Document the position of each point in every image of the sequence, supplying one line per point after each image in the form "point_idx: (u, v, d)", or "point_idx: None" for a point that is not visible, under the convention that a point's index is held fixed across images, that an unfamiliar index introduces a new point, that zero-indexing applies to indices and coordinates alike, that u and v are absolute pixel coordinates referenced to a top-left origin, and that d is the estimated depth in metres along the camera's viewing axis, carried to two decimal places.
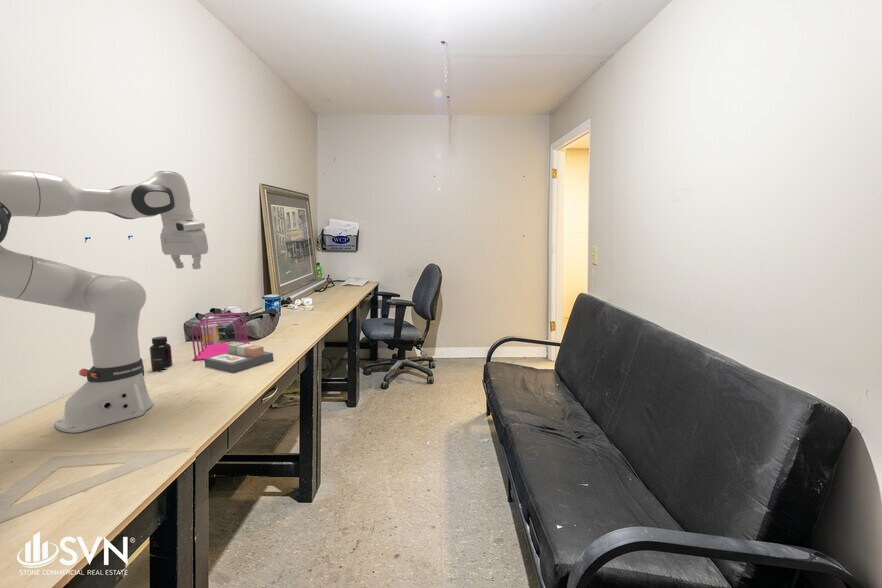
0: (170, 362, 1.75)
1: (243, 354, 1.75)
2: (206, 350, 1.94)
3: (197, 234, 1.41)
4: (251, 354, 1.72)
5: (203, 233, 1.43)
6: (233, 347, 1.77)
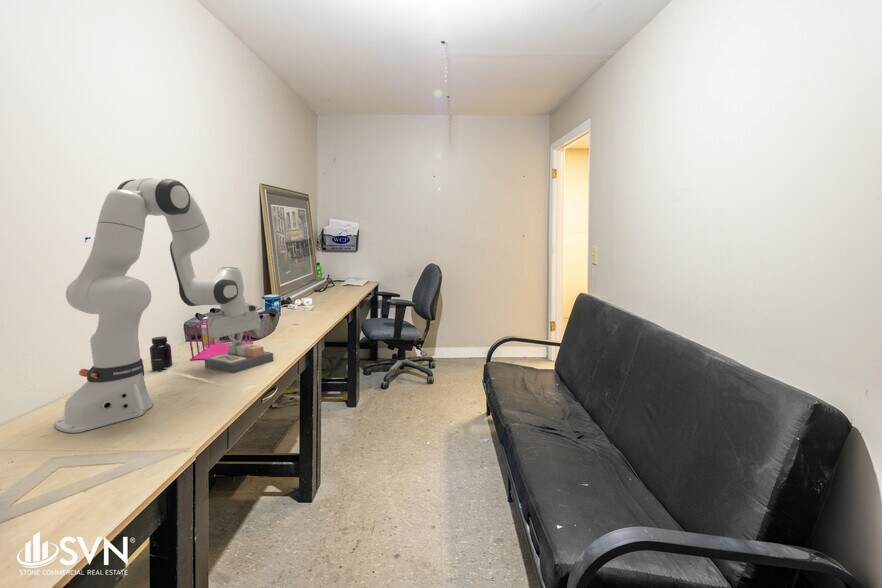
0: (170, 362, 1.75)
1: (243, 354, 1.75)
2: (207, 350, 1.95)
3: None
4: (251, 354, 1.72)
5: None
6: (233, 348, 1.78)
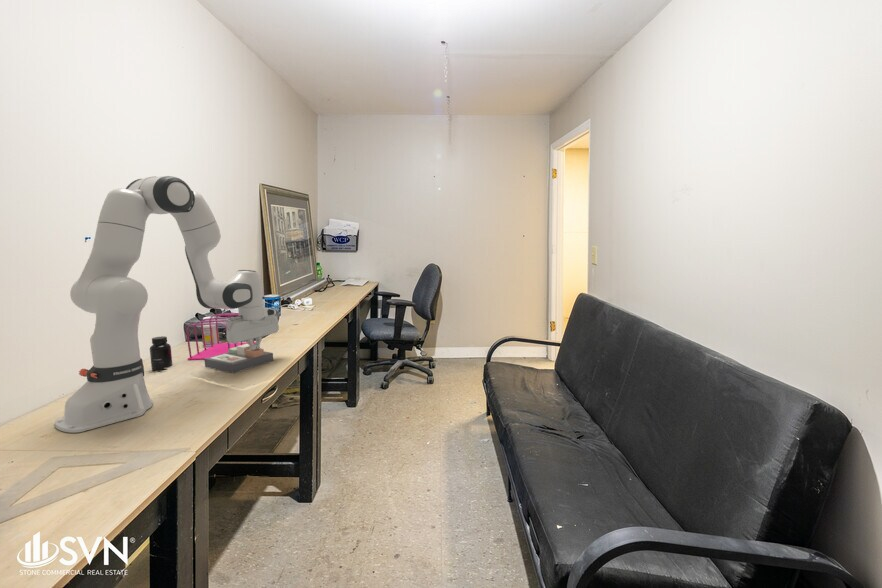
0: (170, 362, 1.75)
1: (243, 354, 1.75)
2: (209, 349, 1.95)
3: None
4: (251, 356, 1.72)
5: None
6: (233, 351, 1.78)
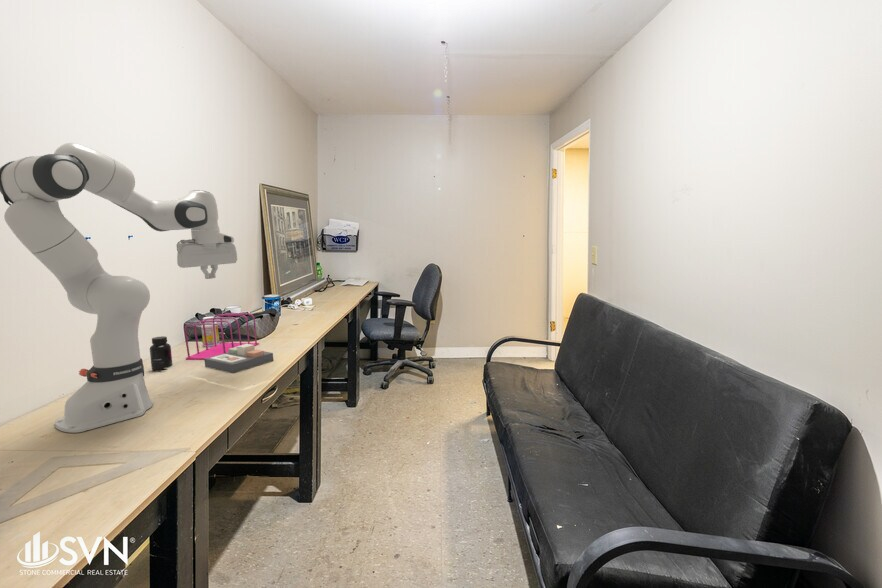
0: (170, 362, 1.75)
1: (243, 354, 1.75)
2: (211, 349, 1.96)
3: None
4: None
5: None
6: (233, 351, 1.78)
